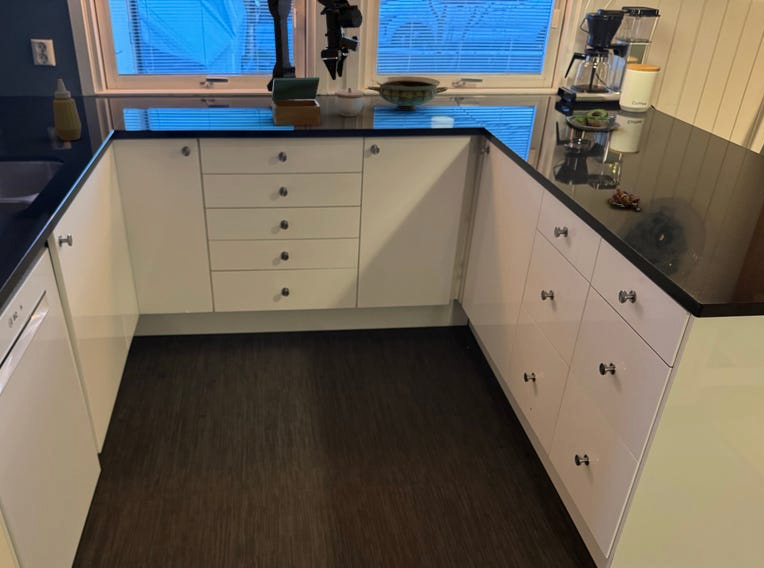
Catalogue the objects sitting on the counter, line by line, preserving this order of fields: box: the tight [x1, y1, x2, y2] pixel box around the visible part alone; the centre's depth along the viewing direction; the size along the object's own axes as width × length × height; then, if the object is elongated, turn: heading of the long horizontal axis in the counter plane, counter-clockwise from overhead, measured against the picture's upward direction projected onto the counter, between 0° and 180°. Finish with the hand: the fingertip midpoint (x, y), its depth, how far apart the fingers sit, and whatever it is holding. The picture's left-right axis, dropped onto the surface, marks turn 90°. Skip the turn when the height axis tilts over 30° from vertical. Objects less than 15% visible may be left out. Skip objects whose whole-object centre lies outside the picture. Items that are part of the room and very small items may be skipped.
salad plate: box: [565, 108, 621, 132], centre depth 240 cm, size 19×18×5 cm
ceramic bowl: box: [367, 75, 449, 111], centre depth 262 cm, size 30×24×10 cm
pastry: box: [608, 187, 641, 212], centre depth 171 cm, size 7×12×4 cm, turn 163°
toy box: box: [271, 98, 321, 127], centre depth 243 cm, size 12×16×6 cm
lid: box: [271, 76, 320, 101], centre depth 240 cm, size 13×16×1 cm
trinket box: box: [334, 87, 365, 117], centre depth 253 cm, size 11×11×9 cm
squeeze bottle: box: [52, 78, 82, 142], centre depth 216 cm, size 8×8×18 cm
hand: (337, 78), depth 241 cm, fingers open, 9 cm apart
